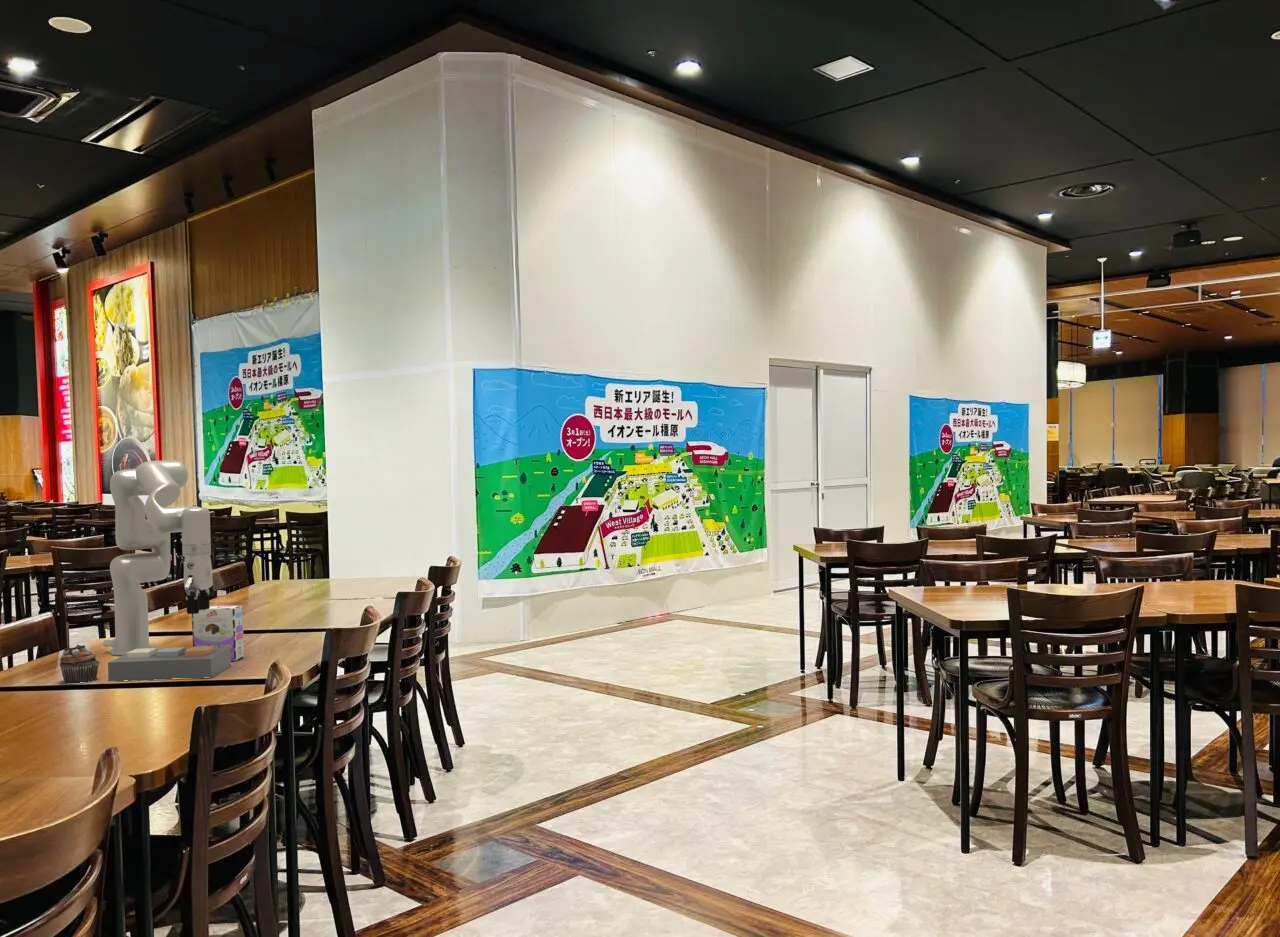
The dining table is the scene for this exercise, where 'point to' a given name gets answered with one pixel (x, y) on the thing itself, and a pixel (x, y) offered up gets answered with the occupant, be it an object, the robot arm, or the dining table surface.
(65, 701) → the dining table surface
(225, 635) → the candy box
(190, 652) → the terracotta key
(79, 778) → the dining table surface
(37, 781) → the dining table surface
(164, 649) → the slate key
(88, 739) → the dining table surface
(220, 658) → the keypad
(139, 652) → the cream key
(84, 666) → the cupcake
